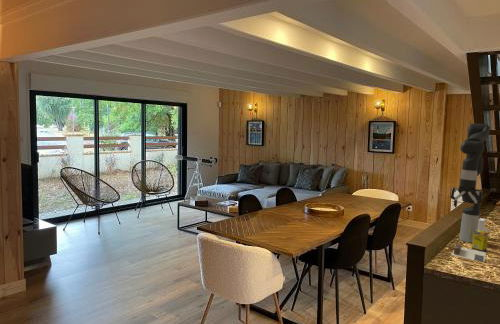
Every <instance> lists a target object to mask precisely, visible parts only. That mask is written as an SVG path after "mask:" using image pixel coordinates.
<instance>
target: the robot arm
mask: <svg viewBox="0 0 500 324" xmlns="http://www.w3.org/2000/svg"><path fill="white" fill-rule="evenodd" d="M490 131H491V127H490V125H489V124H486V123H470V124H469V125H468V126H467V134H466V135H467V136H466V137H467V138H466V139H465V140H464V141H462V143H461V144H460V151H461V152H462V154H464V155H466V156H465V158H464V159H463V161H462V164H461V166H462V167H461V172H460V176H459V178H460V179H459V187H458V188H456V187H452V189H451V193H450V199H452V200H453V206H454V208H457V207H458V199H460V198H461V200H462V202H464V203H468V204H473V205H472V206H470V207H464V208H463V209H462V213H461V215H462V216H461V222H460V230H459V231H460V232H459V241H461V242H466V243H471V244H472V242H473V234H474V231H476V230H478V223H479V219H480V215H481V213H480V212H481V206H482V201H483V190H481V189H479V188H478V189H477V187H476V186H477V181H478V176H479V175H481V173H482V172H483V169H484V168H483V167H484V158H483V156H482V154H483V152H484V151H485V144H484V142H485V141H487V140H488V139H489V137H490V133H491V132H490ZM456 192H458V195H457V196H455V193H456Z"/></svg>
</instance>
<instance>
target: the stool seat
mask: <svg viewBox="0 0 500 324" xmlns="http://www.w3.org/2000/svg"><path fill="white" fill-rule="evenodd" d="M475 254H476V255H481V256H484V260H483V262H482V261H479V262H481V263H485V260H486V255H487V253H486V252H485V251H478V250H475V249H472V248H465V247H461V250H460V253H459V255H456V254H454V249H453V251H452V252H451V256H453V257H458V258H463V259H467V260H472V261H477V260H474V258H475ZM477 262H478V261H477Z"/></svg>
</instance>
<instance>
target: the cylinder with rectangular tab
mask: <svg viewBox="0 0 500 324" xmlns="http://www.w3.org/2000/svg"><path fill="white" fill-rule="evenodd" d="M486 221H487V219H486V218H482V217H479V223H478V230H482V231H486V232H489V233H490V229H489V228H486V227H485V226H486Z"/></svg>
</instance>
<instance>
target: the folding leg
mask: <svg viewBox="0 0 500 324" xmlns="http://www.w3.org/2000/svg"><path fill="white" fill-rule="evenodd" d="M462 245H463V244H462V243H458V242H457V243H456V244H455V246H454V247H453V250H454V254H456V255H459V253H460V250H461V248H462Z"/></svg>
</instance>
